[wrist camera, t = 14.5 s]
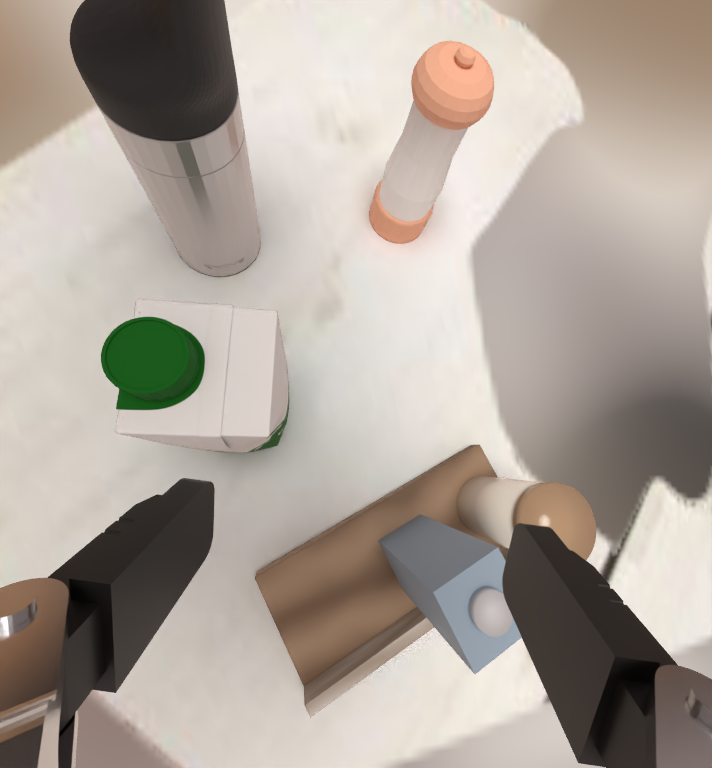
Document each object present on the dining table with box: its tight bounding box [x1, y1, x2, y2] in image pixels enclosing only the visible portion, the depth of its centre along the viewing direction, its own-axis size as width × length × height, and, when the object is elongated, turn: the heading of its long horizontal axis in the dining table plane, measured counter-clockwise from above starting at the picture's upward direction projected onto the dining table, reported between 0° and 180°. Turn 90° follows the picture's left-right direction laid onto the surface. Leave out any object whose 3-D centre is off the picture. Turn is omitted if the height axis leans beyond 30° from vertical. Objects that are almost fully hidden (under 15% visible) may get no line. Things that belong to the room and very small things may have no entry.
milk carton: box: [101, 299, 289, 453], centre depth 27 cm, size 9×9×20 cm
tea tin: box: [378, 514, 521, 674], centre depth 27 cm, size 5×5×15 cm
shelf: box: [255, 445, 509, 717], centre depth 34 cm, size 11×26×4 cm, turn 118°
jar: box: [457, 476, 596, 560], centre depth 31 cm, size 6×6×11 cm
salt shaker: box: [369, 41, 494, 243], centre depth 36 cm, size 7×7×19 cm
